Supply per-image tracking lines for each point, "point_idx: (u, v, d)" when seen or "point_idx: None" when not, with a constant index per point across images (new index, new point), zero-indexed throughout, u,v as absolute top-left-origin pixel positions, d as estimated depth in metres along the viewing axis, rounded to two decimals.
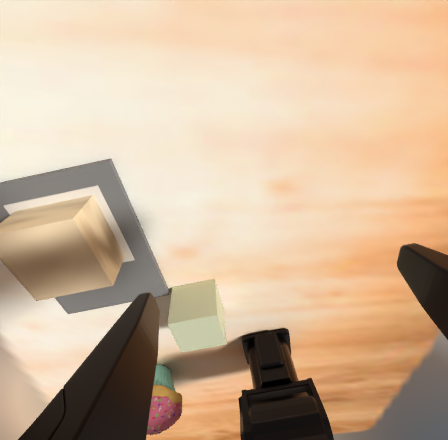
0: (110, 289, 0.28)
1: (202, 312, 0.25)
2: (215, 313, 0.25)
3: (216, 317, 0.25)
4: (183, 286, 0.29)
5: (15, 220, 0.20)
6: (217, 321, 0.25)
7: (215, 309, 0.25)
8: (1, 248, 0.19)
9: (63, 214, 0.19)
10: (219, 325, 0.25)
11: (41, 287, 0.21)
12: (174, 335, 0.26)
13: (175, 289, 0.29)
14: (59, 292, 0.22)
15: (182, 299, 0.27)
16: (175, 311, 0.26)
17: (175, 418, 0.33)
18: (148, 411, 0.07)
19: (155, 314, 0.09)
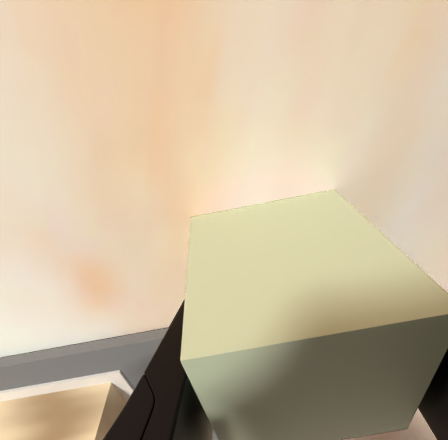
0: None
1: None
2: None
3: (202, 361, 0.05)
4: None
5: None
6: (236, 357, 0.04)
7: None
8: None
9: None
10: (274, 347, 0.04)
11: None
12: None
13: None
14: None
15: None
16: None
17: None
18: None
19: None
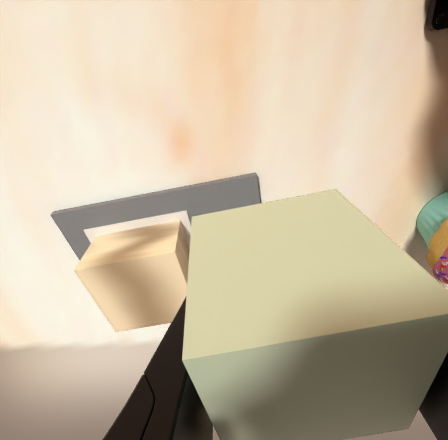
0: None
1: None
2: None
3: (204, 361, 0.04)
4: None
5: None
6: (238, 356, 0.04)
7: None
8: (126, 324, 0.20)
9: None
10: (276, 346, 0.04)
11: None
12: None
13: None
14: None
15: None
16: None
17: None
18: None
19: None
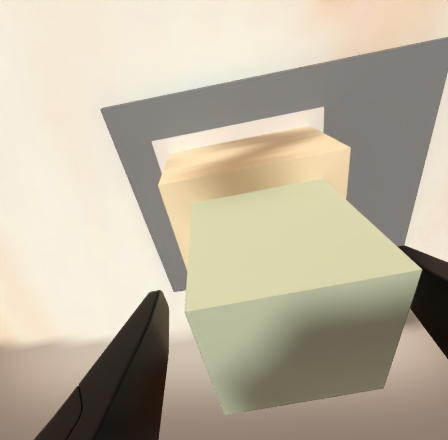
0: (380, 172, 0.14)
1: None
2: None
3: (203, 313, 0.05)
4: None
5: None
6: (231, 309, 0.05)
7: (187, 292, 0.06)
8: None
9: None
10: (263, 301, 0.05)
11: None
12: (283, 403, 0.08)
13: None
14: None
15: None
16: None
17: None
18: (161, 409, 0.07)
19: (165, 312, 0.09)
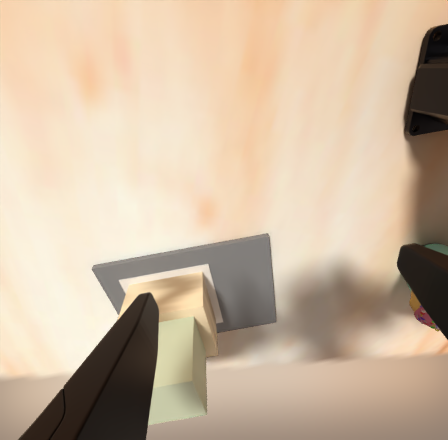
0: (248, 288, 0.25)
1: None
2: None
3: None
4: None
5: None
6: None
7: None
8: None
9: None
10: None
11: None
12: (165, 421, 0.19)
13: None
14: (208, 341, 0.23)
15: None
16: None
17: None
18: (148, 411, 0.07)
19: (155, 314, 0.09)
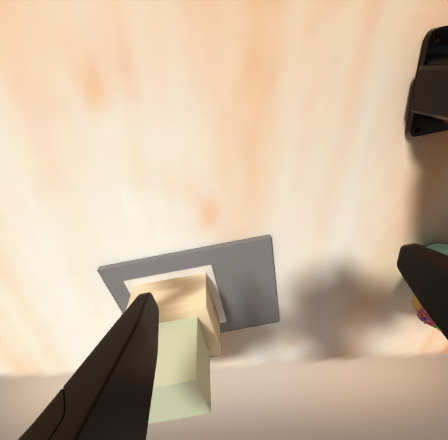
0: (251, 288, 0.26)
1: None
2: None
3: None
4: None
5: None
6: None
7: None
8: None
9: None
10: None
11: None
12: (170, 419, 0.19)
13: None
14: (212, 341, 0.23)
15: None
16: None
17: None
18: (148, 411, 0.07)
19: (155, 314, 0.09)
